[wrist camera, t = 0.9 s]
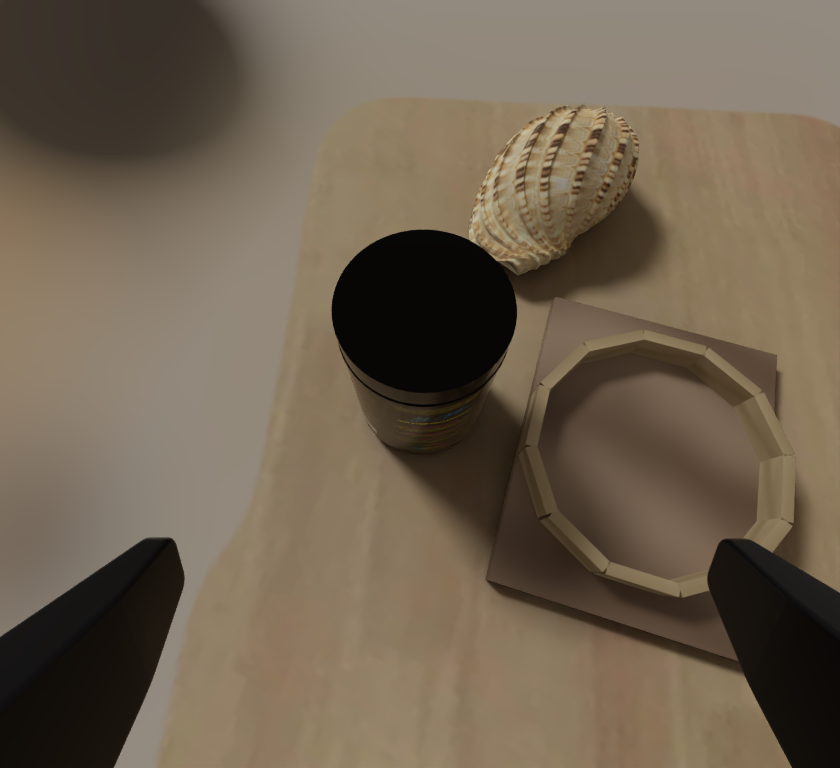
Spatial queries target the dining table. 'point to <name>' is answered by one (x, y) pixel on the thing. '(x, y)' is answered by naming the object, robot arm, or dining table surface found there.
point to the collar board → (642, 472)
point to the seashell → (553, 185)
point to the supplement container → (423, 335)
